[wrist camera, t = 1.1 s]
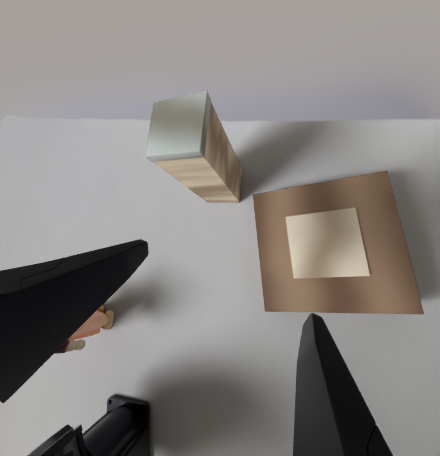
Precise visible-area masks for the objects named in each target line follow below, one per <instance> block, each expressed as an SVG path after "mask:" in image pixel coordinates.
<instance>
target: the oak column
mask: <svg viewBox="0 0 440 456" xmlns="http://www.w3.org/2000/svg"><path fill="white" fill-rule="evenodd" d="M145 157H146V158H147V159H148V160H150V161H151V162H154V163H155V164H157V165H158V166H159V167H161V168H162V169H163V170H165V171H166V172H167V173H169V174H170V175H171V176H173V177H174V178H175V179H177V180H178V181H179V182H181V183H182V184H183V185H185V186H186V187H188V188H189V189H190V190H192V191H193V192H194V193H196V194H197V195H198V196H200V197H201V198H202V199H204V200H205V201H206V202H240V191H241V180H242V167H241V165H240V163H239V161H238V159H237V157H236V155H235V152H234V150H233V148H232V146H231V144H230V142H229V140H228V137H227V135H226V133H225V131H224V129H223V127H222V124H221V122H220V120H219V118H218V116H217V114H216V112H215V110H214V107H213V105H212V103H211V99H210V97H209V94H208V92H207V91H205V92H200V93H196V94H192V95H186V96H182V97H177V98H173V99H168V100H164V101H159V102H154V104H153V111H152V117H151V123H150V129H149V135H148V141H147V147H146V153H145Z"/></svg>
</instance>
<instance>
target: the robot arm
mask: <svg viewBox="0 0 440 456" xmlns="http://www.w3.org/2000/svg"><path fill="white" fill-rule="evenodd" d="M147 256H148V243H147V242H146V241H144V240H141V239H140V240H135V241H131V242H127V243H123V244H119V245H115V246H110V247H106V248H102V249H98V250H94V251H90V252H86V253H81V254H77V255H73V256H69V257H67V258H66V257H65V258H61V259H57V260H52V261H48V262H43V263H38V264H33V265H28V266H23V267H18V268H13V269H7V270H2V271H0V401H1V402H2V403H4V402H5V401H7V400H8V399H9V398H10V397H11V396H12V395H13V394H14V393H15V392H16V391H17V390H18V389H19V388H20V387H21V386H22V385H23V384H24V383H25V382H26V381H27V380H28V379H29V378H30V377H31V376H32V375H33V374H34V373H35V372H36V371H37V370H38V369H39V368H40V367H41V366H42V365H43V364H44V363H45V362H46V361H47V360H48V359H49V358H50V357H51V356H52V355H53V354H54V353H55V352H56V351H57V350H58V349H59V347H61V346H62V345H63V344H64V343H65V342H66V341H67V340H68V339H69V338H70V337H71V336H72V335H73V334H74V333H75V332H76V331H77V330H78V329H79V328H80V327H81V326H82V325H83V324H84V323H85V322H86V321H87V320H88V319H89V318H90V317H91V316H92V315H93V314H94V313H95V312H96V311H97V310H98V309H99V308H100V307H101V306H102V305H103V304H104V303H105V302H106V301H107V300H108V299H109V298H110V297H111V296H112V295H113V294H114V293H115V292H116V291H117V290H118V289H119V288H120V287H121V286H122V285H123V284H124V283H125V282H126V281H127V280H128V279H129V278H130V277H131V275H132V274H133V273H134V272H135V271H136V269H137V268H138V267H139V266H140V265H141V263H142V262H143V261H144V260H145V258H146V257H147ZM149 413H150V408H149V404H148V403H146V402H141V401H136V400H131V399H126V398H122V397H117V396H111V397H110V398H108V401H107V413H106V414H105V415H104V416H103V417H101V418H100V419H99V420H98V421H97V422H96V423H94V424H93V425H92V426H91V427H90V428H89V429H88V430H86V431H85V432H84V433H83V434H82V430H83V429H82V426H81V425H79V426H78V427H76V428H75V429H73V427H71V426H69V425H68V424H67V425H66V426H64V427H63V428H62V429H60V430H59V431H58V432H56V433H55V434H54V435H53V436H51V437H50V438H49V439H47V440H46V441H45V442H43V443H42V444H41V445H40V446H38V447H37V448H36V449H35V450H34V451H32V452H31V453H30V454H29V455H27V456H149ZM293 456H393V455H392V453H391V451H390V449H389V447H388V445H387V443H386V441H385V440H384V438H383V436H382V434H381V432H380V430H379V428H378V426H377V425H376V422H375V420H374V418H373V416H372V414H371V412H370V410H369V408H368V406H367V404H366V403H365V401H364V399H363V397H362V395H361V393H360V391H359V389H358V387H357V385H356V383H355V381H354V379H353V377H352V375H351V373H350V371H349V369H348V367H347V365H346V363H345V361H344V359H343V358H342V356H341V354H340V352H339V350H338V348H337V346H336V344H335V342H334V340H333V338H332V336H331V334H330V332H329V330H328V328H327V326H326V324H325V322H324V320H323V319H322V317H320V316H318V315H316V314H314V313H311V314H310V315H309V317H308V318H307V320H306V321H305V323H304V325H303V329H302V335H301V341H300V347H299V354H298V360H297V375H296V398H295V422H294V445H293Z"/></svg>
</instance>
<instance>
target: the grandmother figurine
mask: <svg viewBox="0 0 440 456" xmlns="http://www.w3.org/2000/svg"><path fill="white" fill-rule="evenodd" d="M103 312H104V306H103V305H102V306H101V307H100V308H99V309H98V310H97V311H96V312H95V313H94V314H93V315H92V316H91V317H90V318H89V319H88V320H87V321H86V322H85V323H84V324H83V325H82V326H81V327H80V328H79V329H78V330H77V331H76V332H75V333H74V334H73V335H72V336H71V337H70V338H69V339H68V340H67V341H66V342H65V343H64V344H63V345H62V346H61V347H59V349H58V350H57V351H56V352H55V353H65V352H68V351H73V350H81V349H82V348H84V346H85V341H84V340H78V341H75V339H80V338H84V337H88V336H92V335H95V334H98V333H99V332H100V328H103V329H110V328H111V327H112V325H113V320H114V312H113V311H112V310H107V311H106V313H105V314H104V313H103Z"/></svg>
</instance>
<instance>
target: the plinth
mask: <svg viewBox="0 0 440 456" xmlns="http://www.w3.org/2000/svg"><path fill="white" fill-rule="evenodd" d="M253 200H254V210H255V219H256V229H257V239H258V248H259V258H260V267H261V277H262V287H263V296H264V306H265V311H268V312H325V313H382V314H424V312H423V308H422V305H421V301H420V297H419V293H418V289H417V285H416V281H415V277H414V274H413V270H412V266H411V262H410V258H409V254H408V250H407V246H406V243H405V239H404V235H403V231H402V227H401V223H400V219H399V215H398V212H397V208H396V204H395V200H394V196H393V192H392V188H391V184H390V181H389V177H388V173H387V171H383V172H377V173H372V174H366V175H360V176H355V177H349V178H343V179H338V180H332V181H327V182H321V183H315V184H310V185H304V186H298V187H293V188H287V189H282V190H276V191H270V192H265V193H259V194H253Z"/></svg>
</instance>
